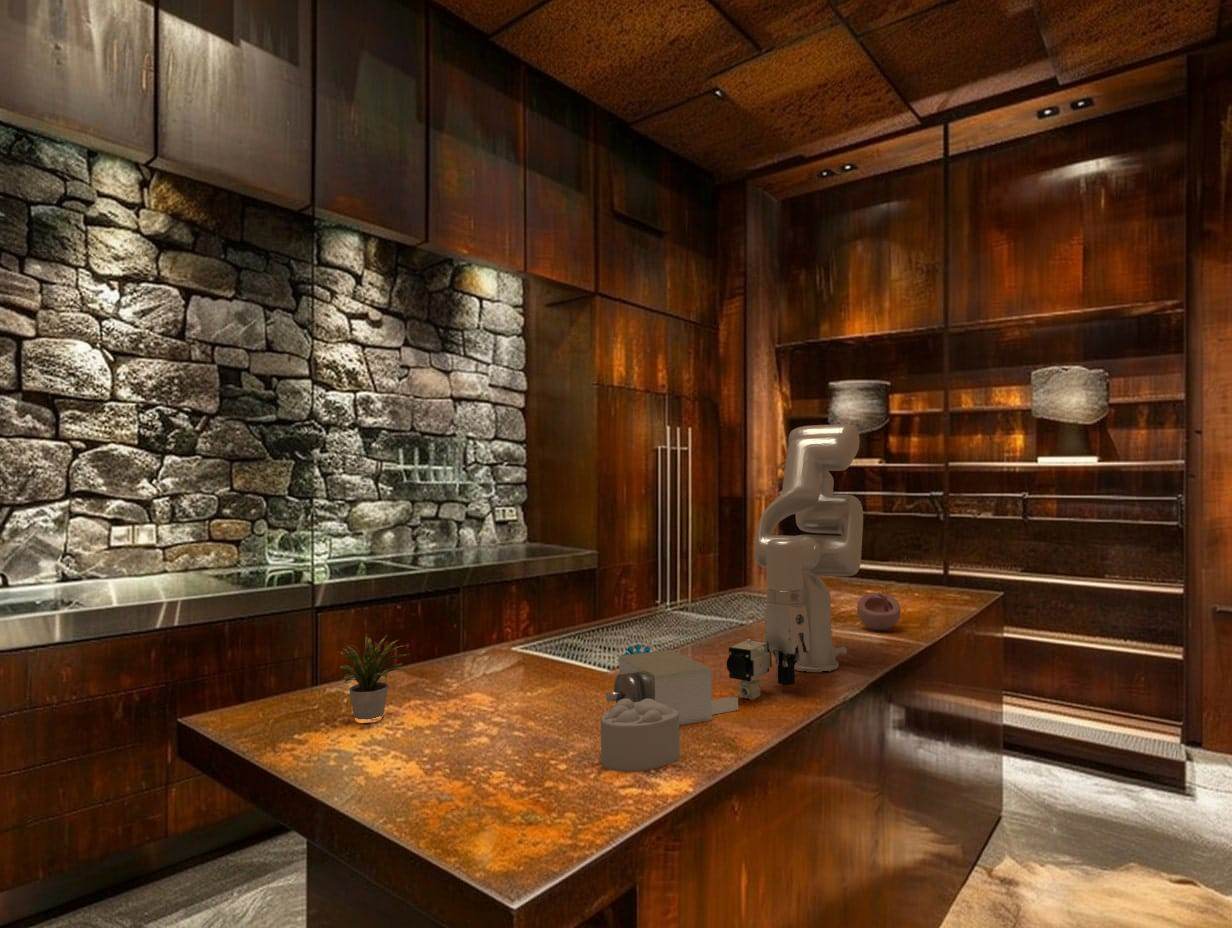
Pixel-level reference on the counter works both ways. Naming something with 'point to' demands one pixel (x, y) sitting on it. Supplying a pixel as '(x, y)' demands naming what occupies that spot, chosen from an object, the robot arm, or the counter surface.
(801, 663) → the robot arm
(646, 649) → the teal lobed piece
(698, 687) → the motor
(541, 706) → the counter surface
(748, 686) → the pneumatic valve
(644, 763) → the lumpy-topped squat cylinder
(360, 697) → the house plant
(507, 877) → the counter surface
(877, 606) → the mortar and pestle
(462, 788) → the counter surface
